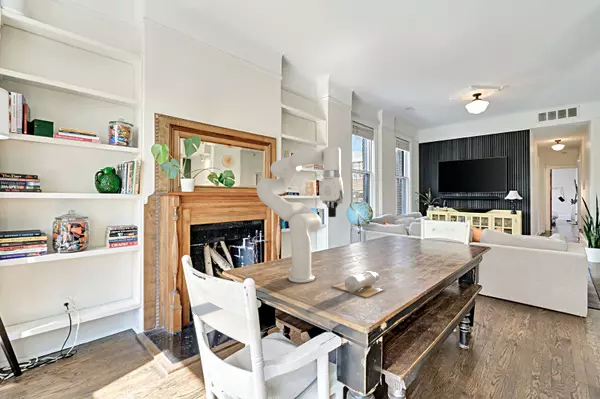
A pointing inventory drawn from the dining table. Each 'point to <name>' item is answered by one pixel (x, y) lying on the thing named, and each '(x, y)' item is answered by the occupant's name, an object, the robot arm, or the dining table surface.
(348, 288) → the plastic bottle
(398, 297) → the dining table surface
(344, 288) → the cork mat
